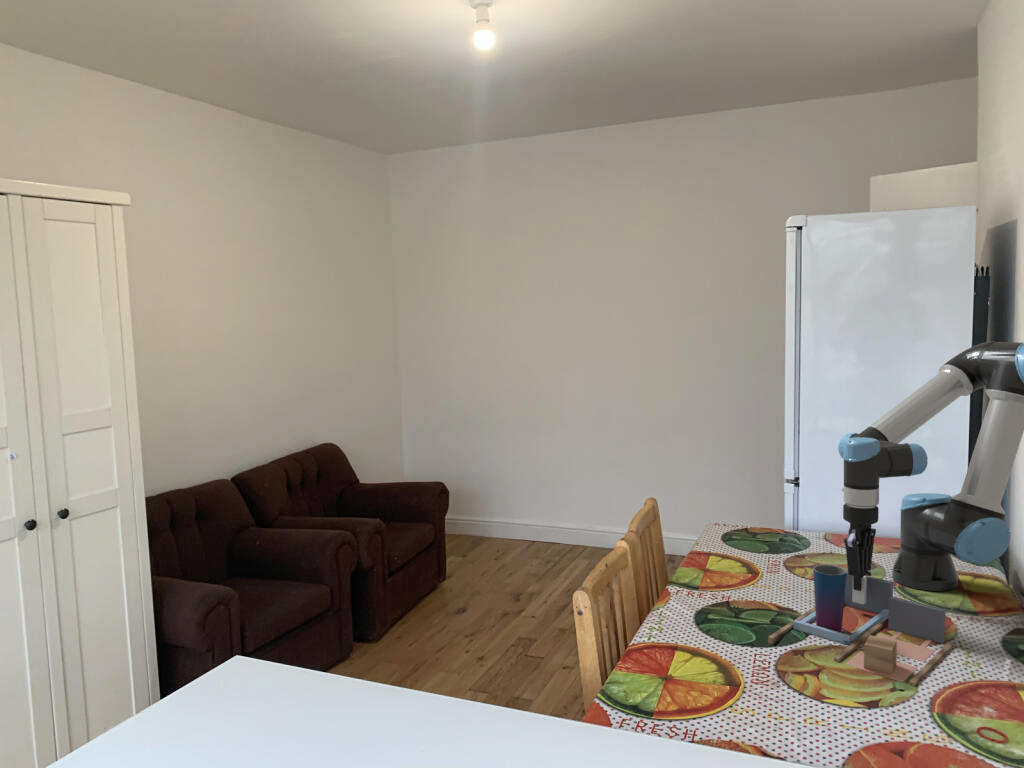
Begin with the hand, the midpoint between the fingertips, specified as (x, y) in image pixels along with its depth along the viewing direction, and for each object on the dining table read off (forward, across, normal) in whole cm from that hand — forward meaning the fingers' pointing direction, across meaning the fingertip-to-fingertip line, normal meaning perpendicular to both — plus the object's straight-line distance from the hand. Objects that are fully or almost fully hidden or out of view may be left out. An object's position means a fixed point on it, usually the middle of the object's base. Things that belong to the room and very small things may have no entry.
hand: (859, 602), depth 180 cm
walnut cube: (+2, +26, +14) cm, 29 cm away
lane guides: (+3, +18, +7) cm, 19 cm away
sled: (+3, +8, 0) cm, 9 cm away
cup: (+3, +16, 0) cm, 16 cm away
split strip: (+3, +17, +14) cm, 22 cm away
